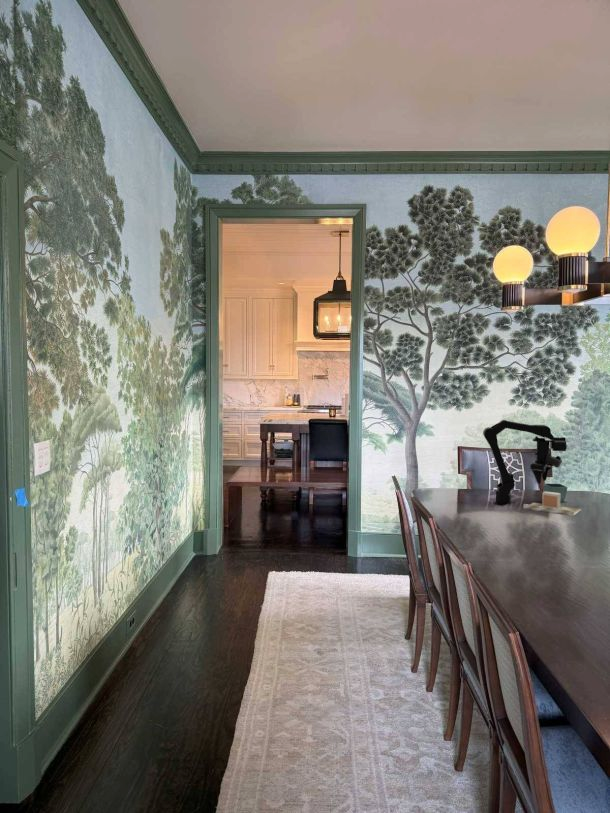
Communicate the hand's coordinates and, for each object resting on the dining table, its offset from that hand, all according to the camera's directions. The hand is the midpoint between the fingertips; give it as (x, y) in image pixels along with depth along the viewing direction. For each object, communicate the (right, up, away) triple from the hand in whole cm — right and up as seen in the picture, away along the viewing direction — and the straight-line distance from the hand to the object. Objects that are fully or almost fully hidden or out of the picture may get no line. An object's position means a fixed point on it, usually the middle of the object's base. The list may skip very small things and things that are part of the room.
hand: (541, 482), depth 269 cm
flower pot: (+10, -12, +9) cm, 18 cm away
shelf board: (+1, -13, -9) cm, 16 cm away
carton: (0, -12, -11) cm, 16 cm away
